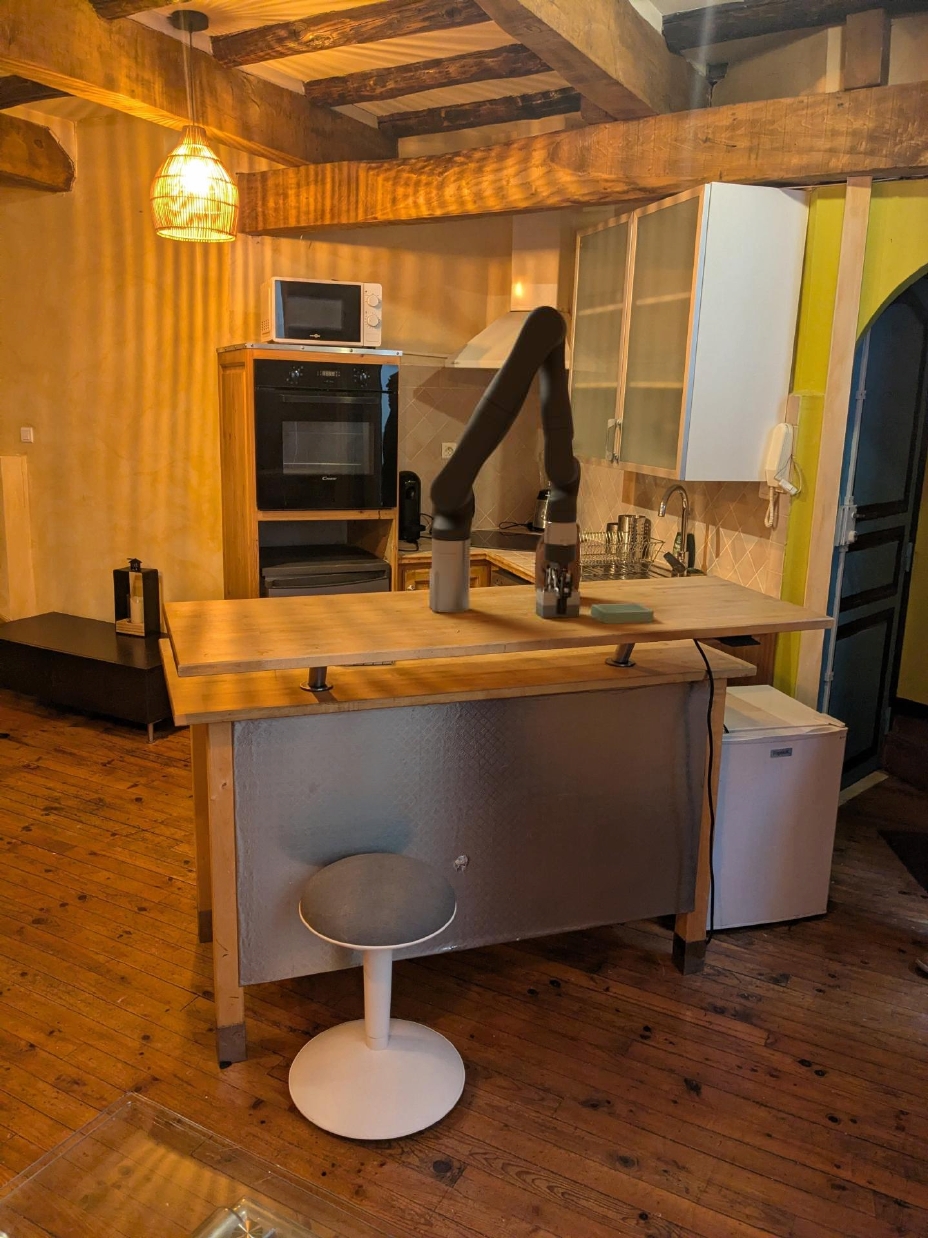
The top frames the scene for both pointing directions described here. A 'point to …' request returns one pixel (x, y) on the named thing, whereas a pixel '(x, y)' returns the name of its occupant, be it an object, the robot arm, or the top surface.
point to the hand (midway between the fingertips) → (557, 611)
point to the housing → (548, 603)
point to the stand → (622, 613)
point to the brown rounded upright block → (541, 563)
